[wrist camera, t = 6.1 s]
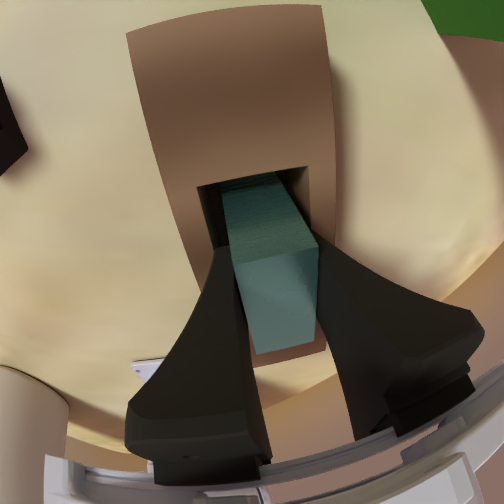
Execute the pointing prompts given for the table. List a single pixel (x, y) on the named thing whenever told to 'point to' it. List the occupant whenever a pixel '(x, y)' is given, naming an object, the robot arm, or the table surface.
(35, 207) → the table surface
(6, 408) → the cylinder vase
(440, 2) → the hardback book
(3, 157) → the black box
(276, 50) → the slotted beam
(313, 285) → the teal rectangular block
